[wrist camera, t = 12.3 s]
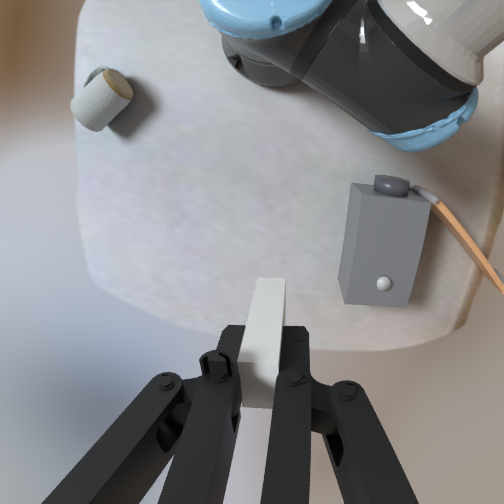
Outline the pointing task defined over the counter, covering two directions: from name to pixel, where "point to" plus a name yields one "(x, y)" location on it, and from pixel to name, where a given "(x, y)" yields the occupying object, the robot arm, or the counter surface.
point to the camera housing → (382, 242)
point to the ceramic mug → (101, 98)
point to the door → (462, 237)
